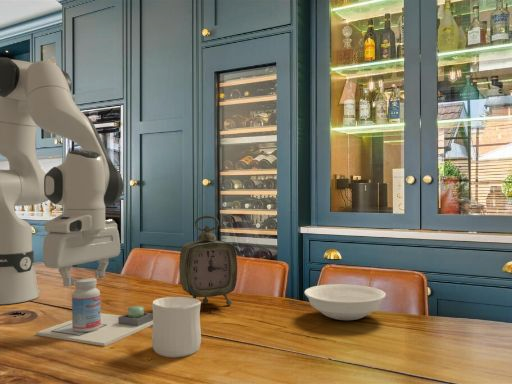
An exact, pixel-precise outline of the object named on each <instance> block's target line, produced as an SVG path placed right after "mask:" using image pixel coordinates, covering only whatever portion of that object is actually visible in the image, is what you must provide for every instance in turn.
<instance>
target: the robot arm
mask: <svg viewBox="0 0 512 384" xmlns="http://www.w3.org/2000/svg"><path fill="white" fill-rule="evenodd" d="M72 88H73V87H72V80H71V77H70V75H69V73H68V72H66V71H65V70H63V69H61V68H60V67H59V65H57V64H55V63H54V62H52V61H47V60H38V61H35V62H34V61H31V62H30V61H27V60H26V61H24V60H19V59H11V58H9V57H0V155H1V156H2V157H4V158H5V159H6V160H7V161H8V164H9V169H0V305H10V304H17V303H18V304H19V303H24V302H27V301H33V300H34V299H37V298H38V297H39V296H40V295H39V294H41V289H39V288H38V281H37V273H36V272H37V271H36V267H34V265H33V263H34V262H35V254H34V252H35V251H34V250H33V235H32V234H33V232H32V230H33V227H32V226H31V225H30V223H29V222H28V221H26V220H24V219H22V218H20V217H19V216H18V215H17V213H16V211H15V207H20V206H21V207H22V206H23V207H24V206H34V205H40V204H43V203H47V202H48V201H49V202H51V203H52V204H54V205H56V206H57V205H58V206H64V207H63V208H64V209H63V210H64V211H63V213H61V214H59V215H58V216H56V217H54V218H52V219H50V220H47V221H46V222H45V223H44V231H45V232H48V233H46V234H45V236H44V238H43V245H42V261H43V265H44V266H45V267H46V268H49V269H58V272H59V274H60V276H61V278H62V285H63V286H64V287H71V286H75V277H73V276H71V274H70V271H71V270H72V267H73V266H76V265H82V264H86V263H91V262H96V261H97V262H98V266H97V269H96V270H94V278H96V279H103V278H105V277H106V270H107V268H108V266H109V261H110V260H109V259H110V258H115V257H116V258H117V257H119V255H120V253H121V240H120V233H119V230H118V224H117V223H116V221H115V220H114V219H113V218H108V219H106V207H111V206H113V205H114V204H115V203H116V202H117V201H119V199H120V198H121V196H123V194H124V189H125V188H124V187H125V186H124V180H123V178H122V175H121V174H120V172H119V171H118V169H117V168H116V166H115V164H113V162H112V159H111V157H110V155H109V153H108V151H107V149H106V146H105V145H104V143H103V141H102V138H101V136H100V134H99V132H98V130H97V128H96V126H95V124H94V122H93V120H92V119H91V118H90V117H88V115H85V114H84V112H82V110H80V108H79V107H78V105H77V104H76V102H75V101H74V99H73V95H72ZM37 127H39V128H40V129H42V130H43V131H45V132H47V133H50V134H53V135H56V136H59V137H62V138H65V139H67V140H69V141H71V142H74V143H75V144H76V145H78V146H79V147H80V148H81V149H82V150H79V149H78V150H77V149H76V150H70V151H68V152H67V153H66V154H65V155H66V156H65V160H64V161H63V162H62V163H61V164H59V165H57V166H54V167H52V168H50V169H49V170H48V171H47V172H45V171H44V170H43V169H42V167H41V165H40V163H39V161H38V157H37V151H36V145H37V144H36V142H37V141H36V140H37Z"/></svg>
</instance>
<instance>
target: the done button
mask: <svg viewBox="0 0 512 384" xmlns="http://www.w3.org/2000/svg"><path fill="white" fill-rule="evenodd" d="M144 308H145V307H144V306H142V305H134V306H133V305H132V306H130V307H128V309H127V310H128V312H127V314H128V317H130V318H140V317H142V316H144V312H145V309H144Z"/></svg>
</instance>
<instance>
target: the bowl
mask: <svg viewBox="0 0 512 384" xmlns="http://www.w3.org/2000/svg"><path fill="white" fill-rule="evenodd" d="M304 295H305V296H306V297H307V299H308V301H309V303H310V306H311V307H312V308H314V309H316V310H317V311H318V312H319V313H321V314H322V315H324V316H326V317H327V318H330V319H334V320H339V321H354V320H355V321H356V320H360V319H362V318H364V317H366V316H368V315H370V314H372V313H374V311H376V310H378V309H379V308H380V306H381V303H382V301H383V300H384V299H385V298H386V296H387V294H386V292H385V291H383V290H382V289H379V288H376V287H372V286H367V285H359V284H348V283H334V284H333V283H332V284H321V285H315V286H311V287H308V288H306V289H305V290H304Z"/></svg>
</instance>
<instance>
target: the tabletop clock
mask: <svg viewBox="0 0 512 384" xmlns="http://www.w3.org/2000/svg"><path fill="white" fill-rule="evenodd" d="M203 219H212V220H214V221H215V222H216V225H215V226H214V227H210V226H209V225H206V226H204V228H203V227H198V224H197V223H198V222H199V221H200V220H203ZM219 226H220V222H219V220H218V218H217V217H215V216H212V215H203V216H199V217H198V218H197V219H196V220H195V221H194V227H195V228H196V229H197V230H198V231H203V232H201V233H200V234H199V235H198V238H197V241H190V242H187V243H185V244H183V245H182V247H181V249H180V253H179V264H178V270H179V280H180V286H181V287H182V290H183V291H184V292H186V293H187V294H189V295H190V296H192V298H195V299H197V298H203V299H202V304H204V305H206V304H208V303H209V299H208V298H209V297H211V298H212V297H218V296H222V297H224V298H225V300H226V301H225V302H226V305H228V306H231V305H232V304H233V301H232V299H230V298H229V297H228V294H230V293H232V292H234V290H235V289H236V288H235V287H236V285H237V280H238V258H237V253H236V248H235V245H233V244H230V243H227V242H223V241H220V240H217V236H216V234H214V233H213V232H211V231H214V230H216V229H217V228H218V227H219Z"/></svg>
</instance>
